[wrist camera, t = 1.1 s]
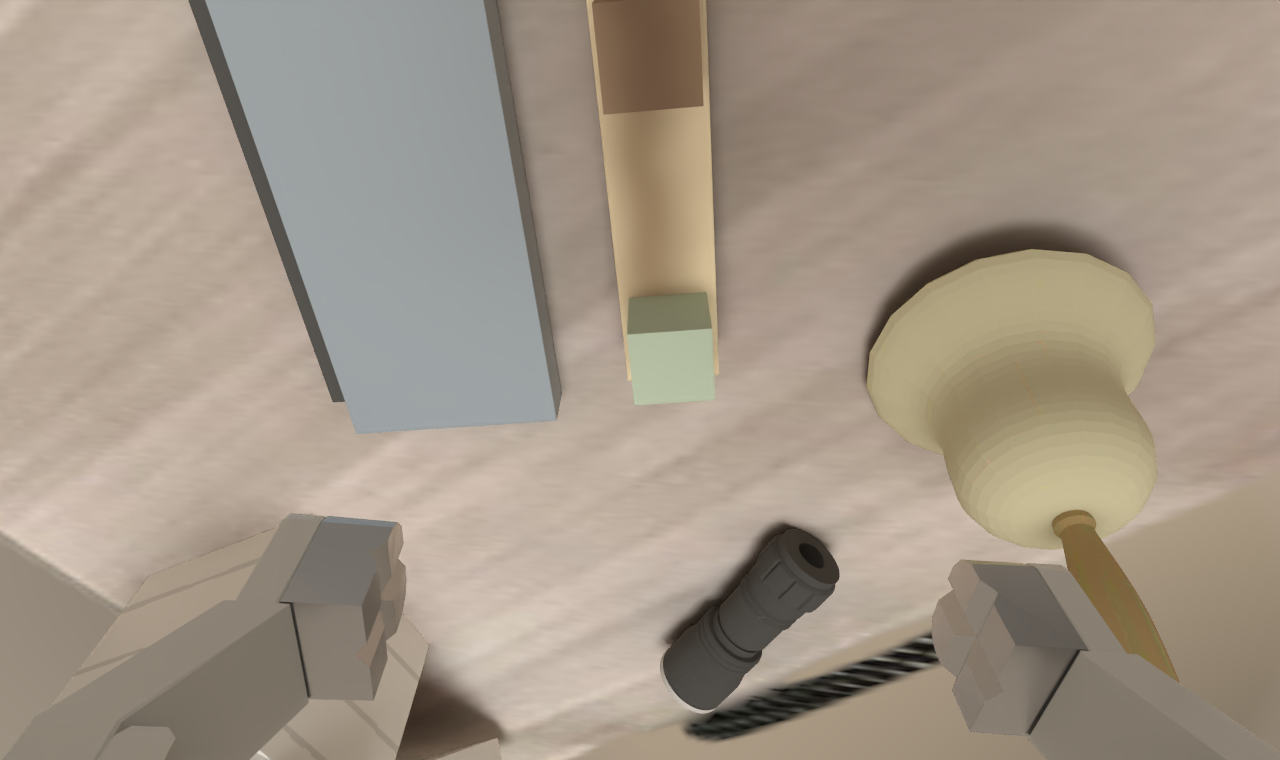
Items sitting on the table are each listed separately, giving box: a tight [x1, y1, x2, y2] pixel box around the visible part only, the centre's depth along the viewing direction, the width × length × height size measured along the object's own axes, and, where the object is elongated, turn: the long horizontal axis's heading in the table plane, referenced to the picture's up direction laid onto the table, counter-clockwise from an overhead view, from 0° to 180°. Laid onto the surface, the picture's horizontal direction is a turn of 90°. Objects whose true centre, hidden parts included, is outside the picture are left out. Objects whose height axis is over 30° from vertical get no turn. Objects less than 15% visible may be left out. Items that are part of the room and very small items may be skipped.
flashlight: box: [660, 529, 839, 713], centre depth 53 cm, size 15×5×5 cm, turn 149°
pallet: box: [586, 0, 719, 381], centre depth 38 cm, size 5×20×4 cm, turn 5°
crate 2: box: [627, 292, 715, 405], centre depth 38 cm, size 4×4×4 cm
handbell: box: [867, 249, 1180, 683], centre depth 35 cm, size 15×15×25 cm
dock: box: [189, 0, 562, 434], centre depth 39 cm, size 13×26×3 cm, turn 5°
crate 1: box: [592, 0, 704, 115], centre depth 31 cm, size 4×4×4 cm
